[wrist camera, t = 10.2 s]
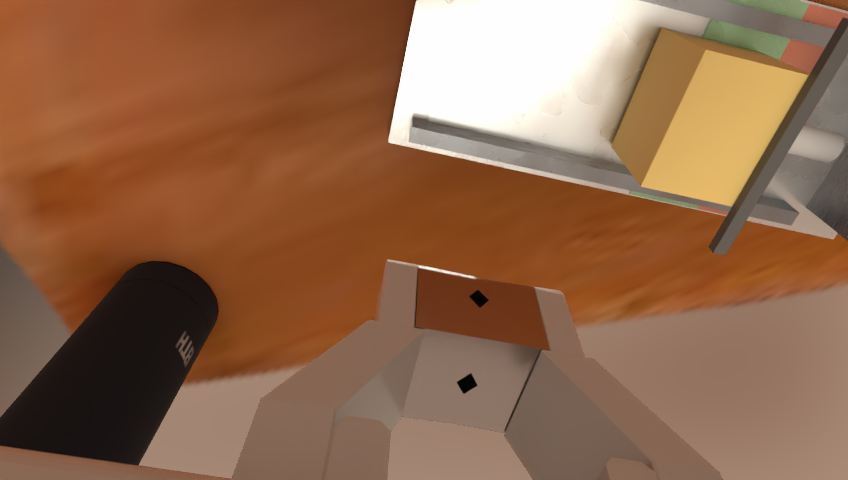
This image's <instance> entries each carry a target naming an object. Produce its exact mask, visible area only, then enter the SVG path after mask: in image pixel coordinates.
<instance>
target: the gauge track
mask: <svg viewBox="0 0 848 480" xmlns="http://www.w3.org/2000/svg"><path fill="white" fill-rule="evenodd" d="M843 17H844V18H848V11H845V10H841V9H838V8H834V7H830V6H826V5H822V4H819V3H815V2H811V1H807V0H416V4H415V9H414V14H413V19H412V24H411V29H410V34H409V39H408V44H407V49H406V54H405V59H404V64H403V69H402V74H401V79H400V84H399V89H398V94H397V99H396V104H395V109H394V114H393V119H392V124H391V129H390V134H389V139H388V142H389V143H393V144H398V145H402V146H407V147H411V148H416V149H421V150H425V151H430V152H434V153H439V154H444V155H448V156H453V157H457V158H462V159H467V160H471V161H476V162H480V163H485V164H489V165H494V166H499V167H503V168H508V169H512V170H517V171H522V172H526V173H531V174H535V175H540V176H545V177H549V178H554V179H558V180H563V181H567V182H572V183H577V184H581V185H586V186H590V187H595V188H600V189H604V190H609V191H613V192H618V193H623V194H627V195H632V196H636V197H641V198H646V199H650V200H655V201H659V202H664V203H668V204H673V205H678V206H682V207H687V208H691V209H696V210H701V211H705V212H710V213H714V214H719V215H724V216H727V215H728V213H729V211H730V209H731V208H732V207H731V206H727V205H722V204H718V203H713V202H709V201H704V200H700V199H695V198H691V197H686V196H681V195H677V194H672V193H668V192H663V191H659V190H654V189H650V188H645V187H641V186H640V185H639V184H638V182H637V181H636V180H635V178H634V177H633V176H632V174H631V173H630V171H629V170H628V169H627V167H626V166H625V165H624V163H623V162H622V161H621V159H620V158H619V157H618V155H617V154H616V153H615V151H614V150H613V149H612V147H611V146H612V143H613V141H614V138H615V136H616V134H617V131H618V129H619V127H620V124H621V122H622V120H623V117H624V115H625V113H626V110H627V108H628V106H629V103H630V101H631V99H632V96H633V94H634V92H635V89H636V87H637V85H638V82H639V80H640V77H641V75H642V73H643V70H644V68H645V66H646V63H647V61H648V59H649V56H650V54H651V52H652V49H653V47H654V45H655V42H656V40H657V38H658V35H659V33H660V31H661V28H666V29H670V30H674V31H678V32H682V33H686V34H690V35H694V36H698V37H702V38H706V39H710V40H714V41H718V42H722V43H726V44H730V45H734V46H738V47H742V48H746V49H750V50H754V51H758V52H761V53H764V54H766V55H768V56H771V57H773V58H775V59H778V60H780V61H782V62H785V63H787V64H789V65H792V66H794V67H796V68H799V69H801V70H803V71H806V72H808V73H811V71H812V69H813V68H814V66H815V64H816V62H817V61H818V59H819V57H820V56H821V54H822V52H823V51H824V49H825V47H826V45H827V44H828V42H829V40H830V39H831V37H832V35H833V33H834V32H835V30H836V28H837V27H838V25H839V23H840V21H841V20H842V18H843ZM805 125H807V126H811V127H815V128H820V129H824V130H828V131H832V132H836V133H840V134H841V135H842V136H843V138H844V147H843V150H842V152H841V153H840V155H839V156H838V157H837V158H836V159H834V160H833V161H831V162H822V161H818V160H814V159H809V158H805V157H801V156H796V155H792V154H788V153H787V154H786V156H785V158H784V159H783V161H782V163H781V164H780V166H779V168H778V169H777V171H776V173H775V174H774V176H773V177H772V179H771V181H770V182H769V184H768V186H767V187H766V189H765V191H764V192H763V194H762V195H761V197H760V199H759V200H758V202H757V204H756V205H755V207H754V209H753V210H752V212H751V214H750V215H749V217H748V218H747V220H746V221H751V222H756V223H760V224H765V225H769V226H774V227H779V228H783V229H788V230H792V231H797V232H802V233H806V234H811V235H815V236H820V237H824V238H829V239H834V238H835V236H836V235H837V234H840V235H841V236H842V237H844V238H845V239H846V240H847V241H848V54H847V56H846V58H845V59H844V61H843V63H842V64H841V66H840V67H839V69H838V71H837V72H836V74H835V76H834V77H833V79H832V81H831V82H830V84H829V86H828V87H827V89H826V90H825V92H824V94H823V95H822V97H821V99H820V100H819V102H818V104H817V105H816V107H815V109H814V110H813V112H812V113H811V115H810V117H809V118H808V120H807V122H806V123H805Z"/></svg>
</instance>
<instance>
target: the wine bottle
mask: <svg viewBox="0 0 848 480" xmlns="http://www.w3.org/2000/svg"><path fill="white" fill-rule="evenodd" d="M217 315H218V307H217V301H216V298H215V296H214V294H213V293H212V291H211V289H210V287H209V286H208V285H207V284H206V283H205V282H204V281H203V280H202V279H201V278H200V277H199V276H197V275H196V274H194V273H192V272H190V271H189V270H187V269H185V268H183V267H180V266H177V265H174V264H170V263H164V262H149V263H144V264H140V265H137V266H135V267H134V268H132V269H131V270H129V271H127V272H126V273H125V274H124V275H123V277H122V278H121V279H120V280H119V281H118V282H117V284H116V285H115V286H114V287H113V288H112V289H111V290H110V292H109V293H108V294H107V295H106V296H105V297H104V299H103V300H102V301H101V302H100V303H99V304H98V305H97V307H96V308H95V309H94V310H93V311H92V312H91V314H90V315H89V316H88V317H87V318H86V319H85V320H84V322H83V323H82V324H81V325H80V326H79V327H78V329H77V330H76V331H75V332H74V333H73V334H72V335H71V337H70V338H69V339H68V340H67V341H66V343H64V345H63V346H62V347H61V348H60V349H59V350H58V352H57V353H56V354H55V355H54V356H53V357H52V359H51V360H50V361H49V362H48V363H47V364H46V365H45V367H44V368H43V369H42V370H41V371H40V372H39V374H38V375H37V376H36V377H35V378H34V379H33V380H32V382H31V383H30V384H29V385H28V387H26V388H25V390H24V391H23V392H22V393H21V394H20V396H19V397H18V398H17V399H16V400H15V401H14V402H13V404H12V405H11V406H10V407H9V408H8V409H7V410H6V412H5V413H4V414H3V415H2V416H1V417H0V446H6V447H13V448H20V449H27V450H34V451H41V452H48V453H55V454H62V455H69V456H76V457H83V458H90V459H97V460H104V461H110V462H117V463H124V464H131V465H139V463H140V461H141V459H142V457H143V455H144V454H145V452H146V450H147V448H148V446H149V444H150V443H151V441H152V439H153V437H154V435H155V433H156V432H157V430H158V428H159V426H160V424H161V422H162V420H163V419H164V416H165V415H166V413H167V411H168V409H169V408H170V406H171V404H172V402H173V400H174V398H175V396H176V395H177V393H178V391H179V389H180V387H181V385H182V384H183V382H184V380H185V378H186V376H187V374H188V373H189V371H190V369H191V367H192V365H193V363H194V361H195V360H196V358H197V356H198V354H199V352H200V350H201V349H202V347H203V345H204V343H205V341H206V339H207V337H208V336H209V334H210V332H211V330H212V328H213V326H214V325H215V323H216V319H217Z"/></svg>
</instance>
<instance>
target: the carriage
mask: <svg viewBox="0 0 848 480" xmlns="http://www.w3.org/2000/svg"><path fill="white" fill-rule="evenodd" d="M847 54H848V18H844V17H843V18H842V20H841V21H840V23H839V25H838V27H837V28H836V30H835V32H834V33H833V35H832V37H831V39H830V40H829V42H828V44H827V45H826V47H825V49H824V51H823V52H822V54H821V56H820V57H819V59H818V61H817V62H816V64H815V66H814V68H813V69H812V71H811V73H808V72H806V71H803V70H801V69H799V68H796V67H794V66H792V65H789V64H787V63H785V62H782V61H780V60H778V59H775V58H773V57H771V56H768V55H766V54H764V53H761V52H758V51H754V50H750V49H746V48H742V47H738V46H734V45H730V44H726V43H722V42H718V41H714V40H710V39H706V38H702V37H698V36H694V35H690V34H686V33H682V32H678V31H674V30H670V29H666V28H661V31H660V33H659V35H658V38H657V40H656V42H655V45H654V47H653V49H652V52H651V54H650V56H649V59H648V61H647V63H646V66H645V68H644V70H643V73H642V75H641V77H640V80H639V82H638V85H637V87H636V89H635V92H634V94H633V96H632V99H631V101H630V103H629V106H628V108H627V110H626V113H625V115H624V117H623V120H622V122H621V124H620V127H619V129H618V131H617V134H616V136H615V138H614V141H613V143H612V146H611V147H612V149H613V150H614V151H615V153H616V154H617V155H618V157H619V158H620V159H621V161H622V162H623V163H624V165H625V166H626V167H627V169H628V170H629V171H630V173H631V174H632V176H633V177H634V178H635V180H636V181H637V182H638V184H639V185H640V186H641V187H645V188H650V189H654V190H659V191H663V192H668V193H672V194H677V195H681V196H686V197H691V198H695V199H700V200H704V201H709V202H713V203H718V204H722V205H727V206H731V207H732V208H731V209H730V211H729V213H728V215H727V216H726V218H725V220H724V221H723V223H722V225H721V227H720V228H719V230H718V232H717V233H716V235H715V237H714V239H713V240H712V242H711V244H710V245H709V248H710V249H711V251H712V252H713V253H717V254H722V255H726V253H727V251H728V250H729V248H730V246H731V245H732V243H733V241H734V240H735V238H736V236H737V235H738V233H739V232H740V230H741V228H742V227H743V225H744V223H745V222H746V220H747V218H748V217H749V215H750V214H751V212H752V210H753V209H754V207H755V205H756V204H757V202H758V200H759V199H760V197H761V195H762V194H763V192H764V191H765V189H766V187H767V186H768V184H769V182H770V181H771V179H772V177H773V176H774V174H775V173H776V171H777V169H778V168H779V166H780V164H781V163H782V161H783V159H784V158H785V156H786V154H787V153H788V154H792V155H796V156H801V157H805V158H809V159H814V160H818V161H822V162H831V161H833V160H834V159H836V158H837V157H838V156H839V155H840V153H841V152H842V150H843V147H844V138H843V136H842V135H841V134H840V133H836V132H832V131H828V130H824V129H820V128H815V127H811V126H807V125H805V123H806V122H807V120H808V118H809V117H810V115H811V113H812V112H813V110H814V109H815V107H816V105H817V104H818V102H819V100H820V99H821V97H822V95H823V94H824V92H825V90H826V89H827V87H828V86H829V84H830V82H831V81H832V79H833V77H834V76H835V74H836V72H837V71H838V69H839V67H840V66H841V64H842V63H843V61H844V59H845V58H846V56H847Z"/></svg>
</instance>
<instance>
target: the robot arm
mask: <svg viewBox="0 0 848 480" xmlns="http://www.w3.org/2000/svg"><path fill="white" fill-rule="evenodd" d="M401 417H407V418H414V419H423V420H429V421H438V422H445V423H453V424H458V425H463V426H469V427H474V428H479V429H485V430H490V431H495V432H501V433H505V434H504V436H505V438H506V439H507V441H508V442H509V444H510V445H511V447H512V448H513V450H514V451H515V453H516V455H517V456H518V458H519V459H520V461H521V462H522V463H523V465H524V467H525V468H526V470H527V471H528V473H529V474H530V476H531V477H532V479H533V480H723V478H722V476H721V474H720V472H719V471H718V470H716V469H715V468H714V467H713V466H712V465H711V464H710V463H709V462H707V460H705V459H704V458H703V457H702V456H701V455H700V454H699V453H698V452H697V451H695V450H694V449H693V448H692V447H691V446H690V445H689V444H688V443H687V442H685V441H684V440H683V439H682V438H681V437H680V436H679V435H678V434H677V433H675V432H674V431H673V430H672V429H671V428H670V427H669V426H667V424H666V423H664V422H663V421H662V420H661V419H660V418H659V417H658V416H657V415H655V414H654V413H653V412H652V411H651V410H650V409H649V408H648V407H647V406H646V405H644V404H643V403H642V402H641V401H640V400H639V399H638V398H637V397H636V396H634V395H633V394H632V393H631V392H630V391H629V390H628V389H627V388H626V387H624V386H623V385H622V384H621V383H620V382H619V381H618V380H617V379H616V378H614V377H613V376H612V375H611V374H610V373H609V372H608V371H607V370H606V369H604V368H603V367H602V366H601V365H600V364H599V363H598V362H597V361H596V360H594V359H592V358H586V357H585V356H584V353H583V350H582V347H581V344H580V341H579V338H578V335H577V332H576V329H575V326H574V323H573V320H572V317H571V314H570V311H569V308H568V306H567V303H566V300H565V297H564V294H563V293H562V292H561V291H560V290H553V289H547V288H540V287H533V286H531V287H530V286H524V285H518V284H512V283H506V282H500V281H494V280H488V279H482V278H476V277H475V276H470V275H465V274H460V273H455V272H450V271H445V270H440V269H436V268H431V267H426V266H421V265H416V264H412V263H406V262H400V261H395V260H389V259H387V262H386V265H385V269H384V274H383V279H382V283H381V288H380V293H379V298H378V302H377V307H376V312H375V317H374V321H373V320H368V321H366V322H365V323H364V324H362V325H361V326H360V327H358V328H357V329H356V330H354V331H353V332H351V333H350V334H349V335H347V336H346V337H345V338H343V339H342V340H341V341H339V342H338V343H336V344H335V345H334V346H332V347H331V348H330V349H328V350H327V351H326V352H324V353H323V354H321V355H320V356H319V357H317V358H316V359H315V360H313V361H312V362H310V363H309V364H308V365H306V366H305V367H304V368H302V369H301V370H300V371H298V372H297V373H295V374H294V375H293V376H291V377H290V378H289V379H287V380H286V381H285V382H284V383H282V384H280V385H279V386H278V387H276V388H275V389H274V390H272V391H271V392H270V393H268V394H267V395H266V396H264V397H263V398H261V400H260V403H259V405H258V408H257V411H256V413H255V416H254V419H253V422H252V425H251V427H250V430H249V433H248V435H247V438H246V441H245V444H244V447H243V449H242V452H241V455H240V457H239V460H238V463H237V466H236V468H235V471H234V474H233V476H232V479H229V478H222V477H215V476H208V475H201V474H194V473H187V472H180V471H173V470H166V469H159V468H152V467H145V466H138V465H131V464H124V463H117V462H110V461H104V460H97V459H90V458H83V457H76V456H69V455H62V454H55V453H48V452H41V451H34V450H27V449H20V448H13V447H6V446H0V480H387V475H388V462H389V449H390V436H391V431H392V430H393V428H394V427H395V426H396V425H397V423H398V422H399V421H400V419H401Z"/></svg>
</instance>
